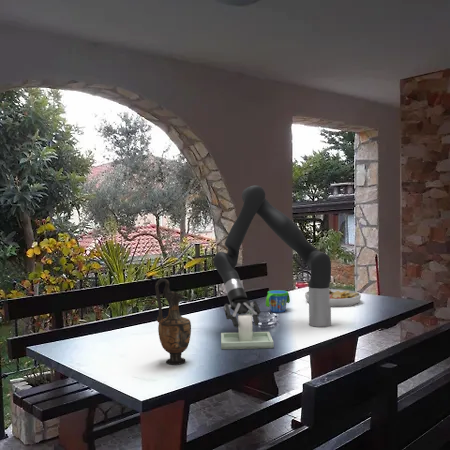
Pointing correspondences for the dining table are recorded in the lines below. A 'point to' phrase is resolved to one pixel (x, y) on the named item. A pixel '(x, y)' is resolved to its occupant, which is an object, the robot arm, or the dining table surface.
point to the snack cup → (277, 300)
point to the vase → (172, 326)
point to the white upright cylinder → (245, 328)
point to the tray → (258, 342)
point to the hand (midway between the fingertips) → (247, 325)
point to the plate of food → (341, 297)
